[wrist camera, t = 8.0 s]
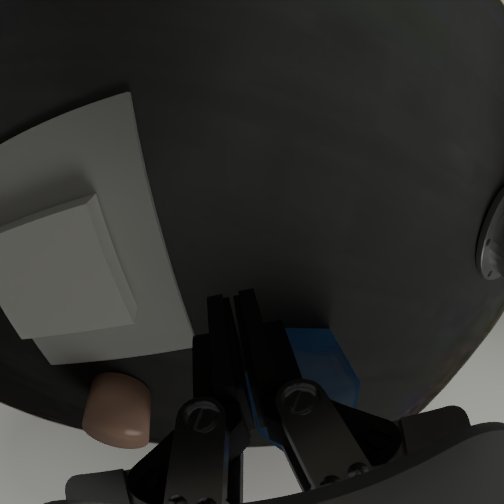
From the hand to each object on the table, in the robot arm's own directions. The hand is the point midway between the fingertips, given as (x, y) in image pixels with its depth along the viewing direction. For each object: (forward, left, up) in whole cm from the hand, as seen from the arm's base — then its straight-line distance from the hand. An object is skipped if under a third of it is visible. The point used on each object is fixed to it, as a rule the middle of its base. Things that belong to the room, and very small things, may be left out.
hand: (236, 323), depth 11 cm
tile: (+6, 0, -7) cm, 9 cm away
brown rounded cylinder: (+12, +14, -8) cm, 20 cm away
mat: (+10, 0, -8) cm, 13 cm away
